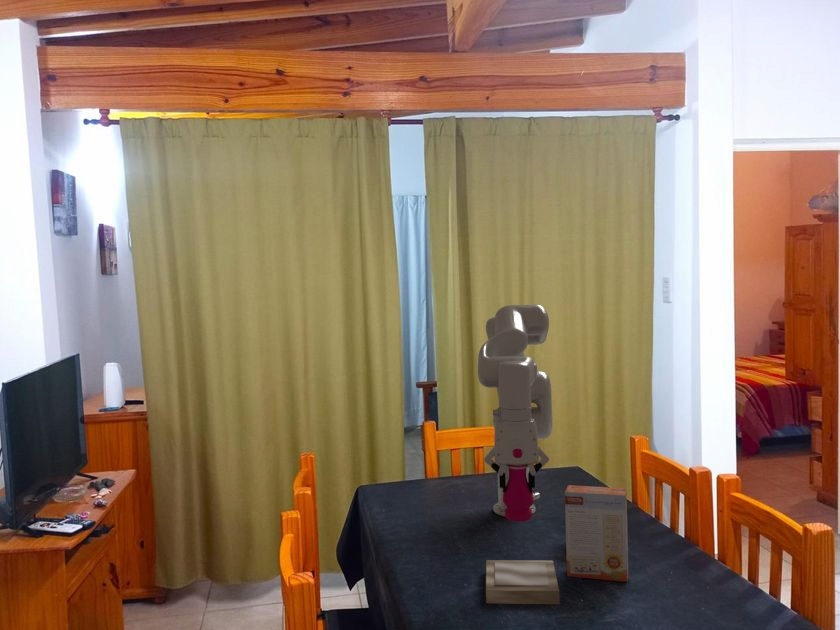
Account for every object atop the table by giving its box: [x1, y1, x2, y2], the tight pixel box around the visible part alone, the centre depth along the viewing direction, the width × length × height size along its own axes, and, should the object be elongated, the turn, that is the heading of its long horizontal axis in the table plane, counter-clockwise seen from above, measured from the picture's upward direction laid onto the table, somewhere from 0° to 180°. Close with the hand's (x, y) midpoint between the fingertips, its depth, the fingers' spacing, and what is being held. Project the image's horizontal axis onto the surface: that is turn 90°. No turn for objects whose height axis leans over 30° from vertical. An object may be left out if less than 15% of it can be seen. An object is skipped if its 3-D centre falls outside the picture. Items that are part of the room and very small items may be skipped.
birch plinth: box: [485, 559, 560, 605], centre depth 165 cm, size 16×16×3 cm
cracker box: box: [564, 484, 629, 583], centre depth 170 cm, size 14×6×21 cm, turn 71°
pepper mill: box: [503, 449, 535, 523], centre depth 167 cm, size 7×7×20 cm
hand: (517, 489), depth 167 cm, fingers closed on pepper mill, 5 cm apart
